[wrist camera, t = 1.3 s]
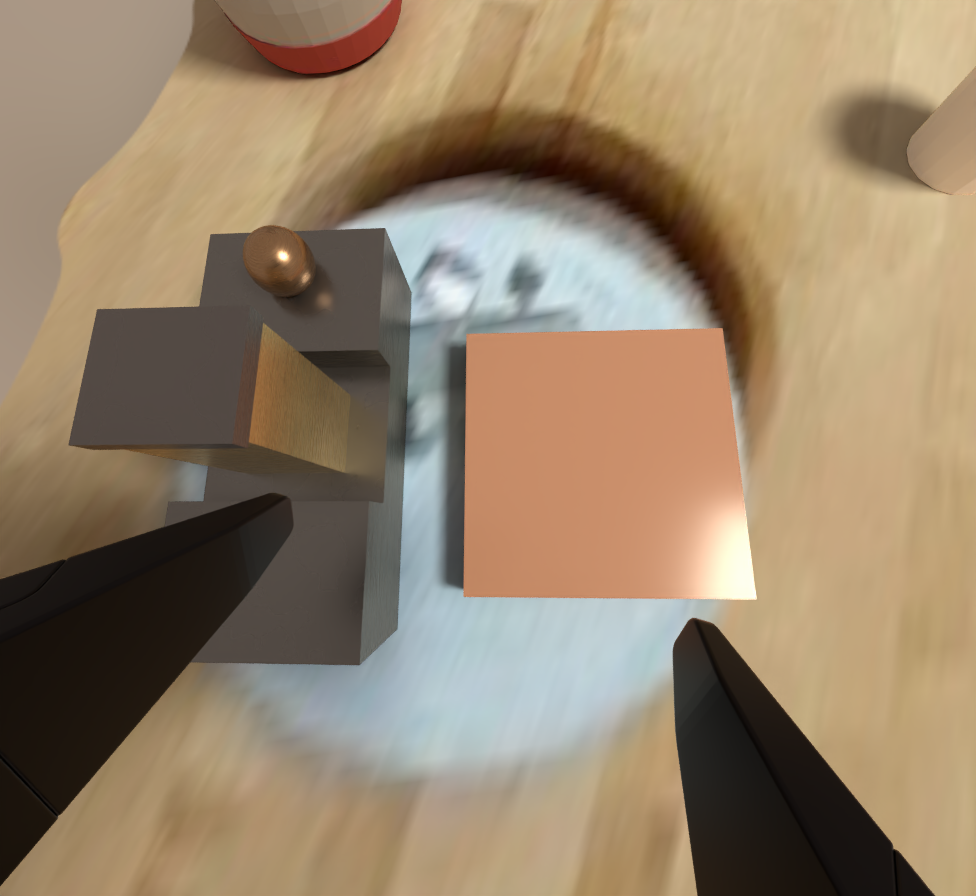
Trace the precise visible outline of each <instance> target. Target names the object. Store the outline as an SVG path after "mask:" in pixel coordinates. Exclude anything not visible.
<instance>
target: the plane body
mask: <svg viewBox="0 0 976 896" xmlns="http://www.w3.org/2000/svg"><path fill="white" fill-rule="evenodd" d="M245 305H250V306H252V307H253V308H254V309H255V310H256V311H257V312H259V313H260V314H261V315H262V316H263V317H264V320H263V323H264V324H265V325H267V326H268V327H269V328H270V329H271V330H273V331H274V332H275V333H276V334H277V335H279V336H280V337H281V338H282V339H283V340H285V341H286V342H287V343H288V344H289V345H291V346H292V347H293V348H294V349H296V350H297V351H298V352H299V353H300V354H302V355H303V356H304V357H305V358H306V359H308V360H309V361H310V362H311V363H312V364H314V365H315V366H316V367H317V368H318V369H320V370H321V371H322V372H323V373H324V374H326V375H327V376H328V377H329V378H330V379H332V380H333V381H334V382H335V383H336V384H338V385H339V386H340V387H341V388H342V389H344V390H345V391H346V392H347V393H348V394H350V409H349V423H348V437H347V451H346V465H345V473H241V472H236V471H231V470H226V469H221V468H216V467H211V466H208V473H207V480H206V487H205V494H204V501H203V502H168V509H167V515H166V522H165V527H166V526H169V525H172V524H175V523H178V522H181V521H184V520H187V519H190V518H194V517H197V516H200V515H203V514H206V513H209V512H212V511H215V510H218V509H221V508H225V507H228V506H231V505H234V504H237V503H240V502H243V501H246V500H249V499H252V498H255V497H259V496H262V495H265V494H268V493H278V494H281V495H285V496H288V497H289V498H290V499H291V502H292V511H293V520H294V526H293V530H292V532H291V534H290V536H289V537H288V539H287V540H286V542H285V543H284V544H283V546H282V547H281V549H280V550H279V552H278V553H277V554H276V556H275V557H274V559H273V560H272V562H271V563H270V565H269V566H268V567H267V569H266V570H265V572H264V573H263V575H262V576H261V577H260V579H259V580H258V582H257V583H256V584H255V586H254V587H253V588H252V590H251V591H250V592H249V593H248V595H247V596H246V597H245V598H244V600H243V601H242V602H241V603H240V604H239V606H238V607H237V608H236V609H235V610H234V611H233V613H232V614H231V615H230V616H229V617H228V618H227V620H226V621H225V622H224V623H223V624H222V625H221V627H220V628H219V629H218V630H217V631H216V633H215V634H214V635H213V636H212V637H211V638H210V640H209V641H208V642H207V643H206V644H205V645H204V647H203V648H202V649H201V650H200V651H199V653H198V654H197V655H196V656H195V657H194V658H193V660H192V661H191V662H206V663H265V664H324V665H360V664H361V663H362V662H363V661H364V660H365V659H366V658H368V657H369V656H370V655H371V654H372V653H373V652H374V651H375V650H376V649H377V648H378V647H379V646H380V645H381V644H382V643H383V642H384V641H385V640H386V639H387V638H389V637H390V636H391V635H392V634H393V633H394V632H395V631H396V630H397V625H398V601H399V578H400V554H401V530H402V506H403V483H404V459H405V435H406V411H407V387H408V364H409V340H410V316H411V290H410V288H409V285H408V283H407V280H406V278H405V275H404V273H403V271H402V268H401V266H400V263H399V261H398V258H397V256H396V253H395V251H394V249H393V246H392V244H391V241H390V239H389V236H388V234H387V232H386V229H385V228H376V229H347V230H319V231H291V230H289V229H287V228H285V227H281V226H276V225H268V226H263V227H260V228H258V229H256V230H254V231H253V232H252V233H234V234H211V235H210V241H209V248H208V254H207V260H206V267H205V273H204V280H203V286H202V292H201V299H200V305H199V307H207V306H245Z"/></svg>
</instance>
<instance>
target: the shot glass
mask: <svg viewBox="0 0 976 896" xmlns="http://www.w3.org/2000/svg"><path fill="white" fill-rule="evenodd" d="M906 151H907V157H908V163H909V166H910V167H911V169H912V170H913V171H914V173H915V174H916V176H917V177H918V178H919V179H920V180H921V181H923V182H924V183H926V184H927V185H928V186H930V187H931V188H933V189H935V190H938V191H942V192H945V193H948V194H951V195H971V194H974V193H976V67H975V68H974V69H973V70H972V71H971V72H970V73H969V74H968V75H967V77H966V78H965V79H964V80H963V81H962V82H961V83H960V84H959V85H958V86H957V88H956V89H955V90H954V91H953V92H952V93H951V94H950V95H949V96H948V97H947V98H946V100H945V101H944V102H943V103H942V104H941V105H940V106H939V107H938V108H937V109H936V110H935V112H934V113H933V114H932V115H931V116H930V117H929V118H928V119H927V120H926V121H925V122H924V124H923V125H922V126H921V127H920V128H919V129H918V130H917V131H916V132H915V133H914V134H913V136H912V137H911V139H910V141H909V144H908V147H907V150H906Z"/></svg>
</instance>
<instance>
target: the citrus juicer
mask: <svg viewBox="0 0 976 896" xmlns="http://www.w3.org/2000/svg"><path fill="white" fill-rule="evenodd" d="M215 1H216V3H217V4H218V5H219V6H220V8H221V9H222V10H223V11H224V13H225V15H226V16H227V18H228V19H229V20H230V22H231V23H232V24H233V26H234V27H235V28H236V29H237V30H238V31H239V32H240V33H241V34H242V35H243V36H244V37H245V38H246V39H247V41H248V42H249V43H250V44H251V45H253V46H254V47H255V48H256V49H257V50H258V51H259V52H260V53H261V54H262V55H263V56H264V57H265V58H267V59H268V60H269V61H270V62H272V63H274V64H276V65H278V66H279V67H281V68H284V69H287V70H291V71H295V72H298V73H301V74H309V73H326V72H331V71H336V70H340V69H344V68H346V67H349V66H351V65H354V64H356V63H358V62H360V61H362V60H363V59H365V58H367V57H368V56H370V55H371V54H373V53H374V52H375V51H376V50H377V49H379V48H380V47H381V46H382V45H383V44H384V43H385V41H386V40H387V39H388V38H389V37H390V36H391V34H392V32H393V30H394V28H395V27H396V25H397V22H398V19H399V15H400V11H401V3H402V0H215Z"/></svg>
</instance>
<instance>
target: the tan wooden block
mask: <svg viewBox="0 0 976 896" xmlns="http://www.w3.org/2000/svg"><path fill="white" fill-rule="evenodd" d="M263 320H264V317H263V316H262V315H261V314H260V313H259V312H257V311H256V310H255V309H254V308H253V307H252V306H250V305H245V306H207V307H170V308H132V309H97V313H96V318H95V322H94V327H93V332H92V337H91V341H90V346H89V351H88V355H87V360H86V365H85V370H84V374H83V379H82V384H81V388H80V393H79V398H78V403H77V407H76V412H75V417H74V421H73V426H72V431H71V436H70V440H69V445H70V446H75V447H81V448H86V449H92V450H118V449H125V450H130V451H135V452H140V453H145V454H150V455H155V456H160V457H165V458H170V459H175V460H180V461H185V462H191V463H196V464H201V465H206V466H211V467H216V468H221V469H226V470H231V471H236V472H241V473H345V465H346V451H347V437H348V423H349V409H350V394H348V393H347V392H346V391H345V390H344V389H342V388H341V387H340V386H339V385H338V384H336V383H335V382H334V381H333V380H332V379H330V378H329V377H328V376H327V375H326V374H324V373H323V372H322V371H321V370H320V369H318V368H317V367H316V366H315V365H314V364H312V363H311V362H310V361H309V360H308V359H306V358H305V357H304V356H303V355H302V354H300V353H299V352H298V351H297V350H296V349H294V348H293V347H292V346H291V345H289V344H288V343H287V342H286V341H285V340H283V339H282V338H281V337H280V336H279V335H277V334H276V333H275V332H274V331H273V330H271V329H270V328H269V327H268V326H267V325H265V324H264V323H263Z"/></svg>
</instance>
